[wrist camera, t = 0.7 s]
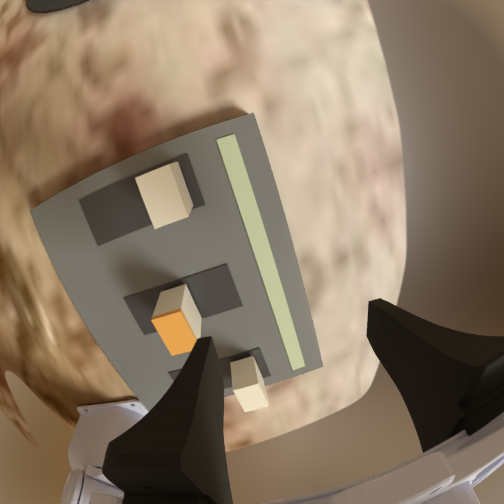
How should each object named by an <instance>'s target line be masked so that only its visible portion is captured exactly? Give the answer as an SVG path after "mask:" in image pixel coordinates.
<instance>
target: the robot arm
mask: <svg viewBox="0 0 504 504" xmlns="http://www.w3.org/2000/svg"><path fill="white" fill-rule="evenodd" d="M367 338H368V340H369V342H370V344H371V346H372V348H373V350H374V352H375V354H376V356H377V357H378V359H379V360H380V362H381V363H382V365H383V366H384V368H385V369H386V371H387V372H388V374H389V375H390V377H391V378H392V380H393V381H394V383H395V384H396V386H397V388H398V389H399V391H400V393H401V395H402V397H403V400H404V402H405V404H406V406H407V408H408V411H409V413H410V415H411V418H412V420H413V423H414V426H415V428H416V431H417V434H418V437H419V440H420V444H421V447H422V451H423V453H422V454H420V455H418V456H416V457H414V458H412V459H410V460H407V461H405V462H403V463H401V464H398V465H396V466H394V467H391V468H389V469H387V470H384V471H382V472H379V473H377V474H374V475H371V476H369V477H366V478H363V479H360V480H357V481H354V482H351V483H348V484H345V485H342V486H338V487H335V488H332V489H328V490H325V491H320V492H317V493H313V494H308V495H304V496H300V497H294V498H289V499H284V500H278V501H272V502H266V503H259V504H480V502H479V500H478V498H477V496H476V494H475V493H474V491H473V489H472V487H474V486H475V485H476V484H478V483H479V482H481V481H482V480H483V479H484V478H486V477H487V476H488V475H490V474H491V473H492V472H493V471H495V470H496V469H497V468H498V467H499V466H500V465H502V464H503V463H504V337H500V336H483V335H475V334H468V333H464V332H459V331H456V330H452V329H449V328H445V327H443V326H439V325H437V324H434V323H432V322H429V321H427V320H424V319H422V318H420V317H418V316H415V315H413V314H411V313H409V312H407V311H405V310H403V309H401V308H399V307H397V306H395V305H393V304H391V303H389V302H387V301H385V300H383V299H381V298H379V299H376V300H372V301H369V304H368V322H367ZM77 411H78V412H79V413H80V414H81V415H80V417H79V420H78V423H77V426H76V428H75V431H74V434H73V437H72V440H71V443H70V446H69V451H68V457H69V463H70V465H71V468H72V471H71V472H70V474H69V476H68V478H67V481H66V484H65V488H64V491H63V495H62V500H61V504H233V500H232V495H231V490H230V483H229V477H228V470H227V463H226V455H225V446H224V435H223V418H224V381H223V371H222V366H221V363H220V360H219V357H218V354H217V351H216V348H215V345H214V342H213V339H212V336H209V337H202V338H198V339H197V340H196V342H195V344H194V346H193V349H192V351H191V353H190V354H189V356H188V358H187V360H186V362H185V364H184V365H183V367H182V369H181V371H180V372H179V374H178V375H177V377H176V378H175V380H174V382H173V383H172V385H171V386H170V387H169V389H168V390H167V392H166V393H165V394H164V395H163V397H162V398H161V399H160V400H159V401H158V403H157V404H156V405H155V406H154V407H153V408H152V409H151V410H150V411H148V410H147V409H146V407H145V406H144V405H143V404H142V403H141V401H139V400H137V399H133V400H127V401H120V402H113V403H105V404H96V405H87V406H78V407H77Z"/></svg>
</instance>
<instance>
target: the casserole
mask: <svg viewBox="0 0 504 504" xmlns="http://www.w3.org/2000/svg"><path fill="white" fill-rule="evenodd" d="M86 1H89V0H26V4H27V8H28V9H29V10H31V11H32V12H34V13H47V12H53V11H58V10H62V9H66V8H69V7H72V6H75V5H78V4H82V3H84V2H86Z"/></svg>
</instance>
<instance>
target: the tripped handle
mask: <svg viewBox="0 0 504 504" xmlns="http://www.w3.org/2000/svg"><path fill="white" fill-rule="evenodd" d="M201 319H202V318H201V316H200V313H199V311H198V309H197V307H196V305H195V303H194V301H193V298H192V296H191V294H190V292H189V290H188V288H187V285H186V284H184V285H181V286H178V287H175V288H172V289H169V290H166V291H162V292H161V293H160V295H159V298H158V301H157V304H156V307H155V310H154V313H153V316H152V319H151V321H152V323H153V324H154V326H155V328H156V330H157V332H158V333H159V335H160V337H161V338H162V340H163V342H164V344H165V345H166V347H167V349H168V350H169V352H170V354H171V355H172V356H174V355H178V354H182V353H185V352H189V351H192V349H193V346H194V344H195V342H196V340H197V339H198V338H200V335H201Z"/></svg>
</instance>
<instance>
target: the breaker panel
mask: <svg viewBox="0 0 504 504" xmlns="http://www.w3.org/2000/svg"><path fill="white" fill-rule="evenodd" d="M30 212H31V215H32V218H33V220H34V223H35V225H36V228H37V230H38V233H39V235H40V237H41V240H42V242H43V244H44V247H45V249H46V251H47V253H48V256H49V258H50V260H51V262H52V264H53V266H54V268H55V270H56V272H57V274H58V276H59V278H60V280H61V282H62V284H63V286H64V288H65V290H66V292H67V293H68V295H69V297H70V299H71V301H72V302H73V304H74V306H75V308H76V309H77V311H78V313H79V315H80V316H81V318H82V320H83V321H84V323H85V324H86V326H87V328H88V329H89V331H90V333H91V334H92V336H93V337H94V339H95V340H96V342H97V343H98V345H99V346H100V348H101V349H102V351H103V352H104V354H105V355H106V357H107V358H108V359H109V361H110V362H111V364H112V365H113V366H114V368H115V369H116V371H117V372H118V373H119V375H120V376H121V377H122V379H123V380H124V381H125V383H126V384H127V385H128V386H129V388H130V389H131V390H132V392H133V393H134V394H135V395H136V396H137V398H138V399H139V400H140V401H141V403H142V404H143V405H144V406H145V407H146V409H147V410H148V411H150V410H151V409H152V408H153V407H154V406H155V405H156V404H157V403H158V401H159V400H160V399H161V398H162V397H163V395H164V394H165V393H166V392H167V390H168V389H169V387H170V386H171V385H172V383H173V382H174V380H175V378H176V377H177V375H178V374H179V372H180V371H181V369H182V367H183V365H184V364H185V362H186V360H187V358H188V356H189V354H190V353H191V351H189V352H185V353H182V354H178V355H174V356H172V355H171V354H170V352H169V350H168V349H167V347H166V345H165V344H164V342H163V340H162V338H161V337H160V335H159V333H158V332H157V330H156V328H155V326H154V324H153V323H152V321H151V319H152V316H153V313H154V310H155V307H156V304H157V301H158V298H159V295H160V293H161V292H162V291H166V290H169V289H172V288H175V287H178V286H181V285H184V284H186V285H187V288H188V290H189V292H190V294H191V296H192V298H193V301H194V303H195V305H196V307H197V309H198V311H199V313H200V316H201V318H202V319H201V335H200V338H202V337H209V336H212V339H213V342H214V345H215V348H216V351H217V354H218V357H219V360H220V363H221V366H222V371H223V381H224V397H226V396H230V395H234V394H235V395H236V397H237V399H238V400H239V402H240V404H241V406H242V407H243V409H244V411H245V412H248V411H252V410H256V409H260V408H263V407H267V406H269V403H268V399H267V394H266V389H265V386H266V385H270V384H273V383H276V382H279V381H283V380H286V379H289V378H292V377H295V376H298V375H301V374H304V373H306V372H309V371H312V370H315V369H318V368H320V367H323V364H322V359H321V355H320V350H319V346H318V342H317V337H316V333H315V329H314V325H313V320H312V316H311V312H310V308H309V304H308V300H307V296H306V292H305V288H304V284H303V280H302V276H301V272H300V269H299V265H298V261H297V257H296V254H295V250H294V246H293V242H292V239H291V235H290V231H289V228H288V224H287V221H286V217H285V214H284V210H283V207H282V203H281V200H280V196H279V193H278V189H277V186H276V183H275V179H274V176H273V173H272V169H271V166H270V163H269V159H268V156H267V153H266V150H265V147H264V143H263V140H262V137H261V134H260V131H259V128H258V125H257V121H256V118H255V115H254V113H251V114H247V115H244V116H240V117H237V118H234V119H230V120H227V121H224V122H221V123H218V124H215V125H212V126H209V127H206V128H203V129H200V130H197V131H194V132H191V133H189V134H186V135H183V136H180V137H178V138H175V139H172V140H170V141H167V142H165V143H162V144H160V145H157V146H155V147H152V148H150V149H148V150H145V151H143V152H141V153H138V154H136V155H134V156H131V157H129V158H127V159H125V160H122V161H120V162H118V163H116V164H114V165H112V166H110V167H108V168H106V169H103V170H101V171H99V172H97V173H95V174H93V175H91V176H89V177H88V178H86V179H84V180H82V181H80V182H78V183H76V184H74V185H72V186H71V187H69V188H67V189H65V190H63V191H62V192H60V193H58V194H56V195H55V196H53V197H51V198H49V199H48V200H46V201H44V202H43V203H41V204H39V205H38V206H36V207H35V208H33V209H31V210H30Z"/></svg>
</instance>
